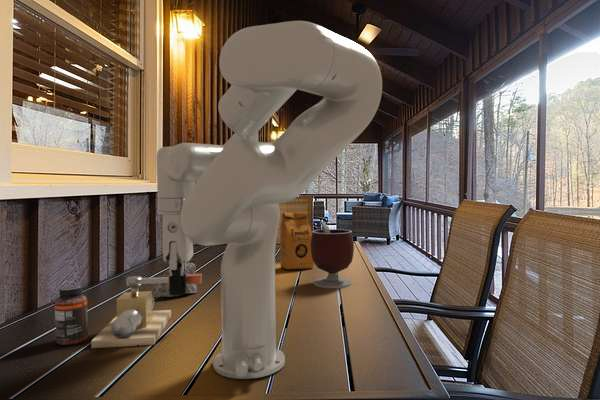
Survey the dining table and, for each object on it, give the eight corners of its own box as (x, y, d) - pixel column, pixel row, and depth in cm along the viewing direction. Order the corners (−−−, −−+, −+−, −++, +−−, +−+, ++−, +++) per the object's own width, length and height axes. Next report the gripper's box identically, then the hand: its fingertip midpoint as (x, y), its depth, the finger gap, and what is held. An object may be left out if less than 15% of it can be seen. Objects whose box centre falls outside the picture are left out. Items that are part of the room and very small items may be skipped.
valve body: (138, 338, 84) (137, 296, 83) (107, 339, 83) (106, 297, 83) (158, 310, 102) (157, 276, 102) (133, 311, 102) (132, 277, 101)
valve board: (154, 344, 84) (154, 337, 84) (91, 348, 83) (91, 340, 83) (171, 316, 103) (171, 309, 103) (120, 318, 101) (120, 312, 101)
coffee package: (316, 269, 159) (316, 212, 158) (285, 272, 155) (284, 213, 154) (308, 265, 168) (307, 210, 168) (278, 267, 164) (277, 211, 164)
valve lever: (124, 287, 91) (124, 279, 91) (129, 283, 94) (128, 276, 94) (200, 284, 93) (200, 276, 93) (202, 280, 96) (201, 273, 96)
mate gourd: (362, 286, 131) (361, 222, 131) (322, 290, 126) (321, 224, 126) (339, 276, 146) (339, 219, 145) (302, 280, 141) (302, 221, 140)
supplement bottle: (81, 333, 91) (79, 282, 91) (93, 339, 87) (92, 286, 87) (51, 341, 86) (49, 287, 86) (63, 348, 83) (61, 292, 82)
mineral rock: (152, 302, 116) (151, 266, 116) (154, 292, 127) (153, 260, 126) (199, 297, 120) (199, 263, 120) (197, 289, 130) (197, 257, 130)
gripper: (190, 208, 80) (191, 303, 81) (199, 204, 95) (200, 284, 95) (149, 208, 79) (151, 304, 80) (164, 205, 94) (166, 286, 94)
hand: (178, 293), depth 87 cm, fingers closed
